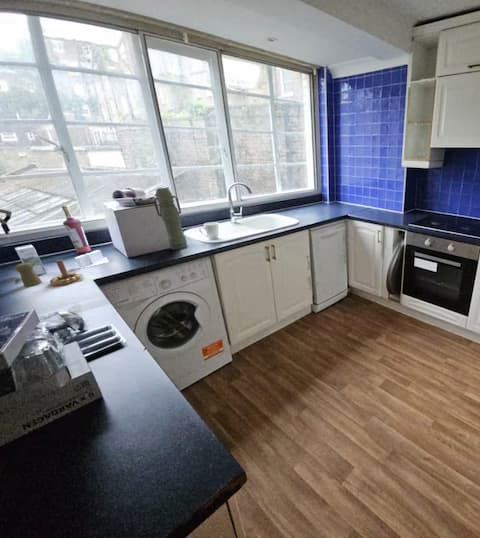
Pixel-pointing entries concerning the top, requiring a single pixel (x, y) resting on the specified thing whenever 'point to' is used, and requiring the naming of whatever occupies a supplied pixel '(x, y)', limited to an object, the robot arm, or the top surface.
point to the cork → (28, 274)
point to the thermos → (170, 218)
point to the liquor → (75, 232)
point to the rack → (64, 273)
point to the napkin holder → (91, 259)
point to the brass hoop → (59, 280)
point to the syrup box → (31, 258)
